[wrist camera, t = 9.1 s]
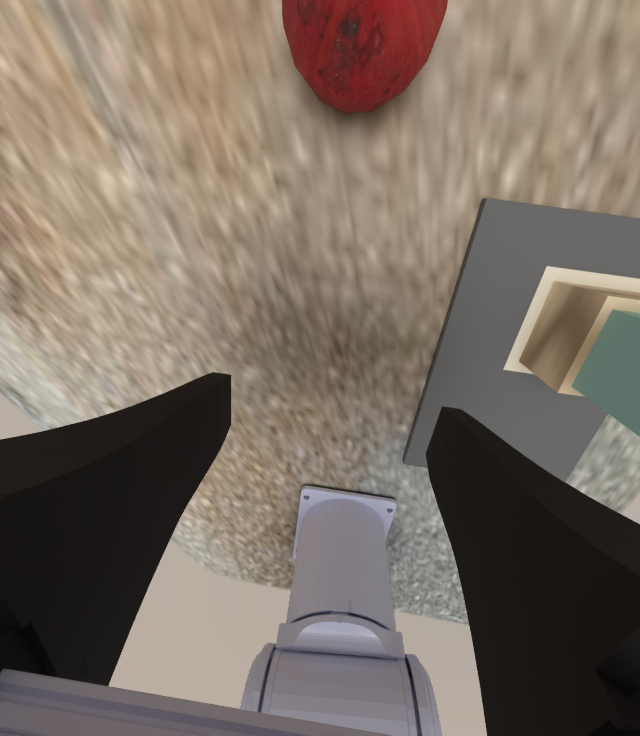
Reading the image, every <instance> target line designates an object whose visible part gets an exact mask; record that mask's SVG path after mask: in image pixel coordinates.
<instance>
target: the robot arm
mask: <svg viewBox="0 0 640 736" xmlns="http://www.w3.org/2000/svg"><path fill="white" fill-rule="evenodd" d="M230 426H231V375H229V374H222V373H215V372H213V373H210V374H207V375H204V376H202V377H200V378H197V379H195V380H193V381H191V382H188V383H186V384H184V385H182V386H180V387H177V388H175V389H173V390H171V391H168V392H166V393H164V394H161V395H159V396H156V397H154V398H151V399H149V400H146V401H144V402H141V403H139V404H136V405H134V406H131V407H128V408H125V409H122V410H119V411H116V412H113V413H110V414H107V415H104V416H100V417H97V418H94V419H90V420H87V421H83V422H79V423H75V424H71V425H67V426H63V427H59V428H55V429H51V430H47V431H42V432H38V433H33V434H28V435H23V436H18V437H12V438H7V439H2V440H0V736H442V733H441V727H440V720H439V715H438V710H437V705H436V700H435V696H434V692H433V688H432V684H431V681H430V678H429V675H428V673H427V671H426V670H425V668H424V667H423V666H422V665H421V663H419V660H418V658H417V657H416V656H415V655H413V654H404V646H403V639H402V633H401V632H396V626H395V617H394V608H393V600H392V591H391V583H390V574H389V566H388V557H387V549H386V539H387V536H388V533H389V529H390V526H391V523H392V520H393V517H394V514H395V511H396V508H397V503H396V501H395V500H394V499H390V498H384V497H377V496H371V495H365V494H358V493H352V492H345V491H339V490H332V489H326V488H320V487H313V486H304V487H302V490H301V497H300V504H299V512H298V519H297V527H296V534H295V542H294V549H293V559H294V560H295V561H296V562H295V569H294V575H293V581H292V588H291V594H290V601H289V607H288V614H287V620H286V623H285V624H284V623H283V624H280V625H279V631H278V637H277V643H276V644H273V643H267V644H266V645H265V646H264V648H263V649H262V651H261V652H260V653H259V654H258V655H257V656H256V658H255V659H254V661H253V663H252V666H251V669H250V671H249V674H248V678H247V681H246V685H245V689H244V693H243V697H242V702H241V707H240V709H236V708H231V707H224V706H219V705H214V704H208V703H202V702H196V701H190V700H185V699H178V698H173V697H167V696H161V695H155V694H150V693H144V692H138V691H132V690H126V689H121V688H115V687H109V686H108V685H109V682H110V680H111V677H112V675H113V672H114V670H115V667H116V665H117V662H118V660H119V657H120V655H121V652H122V649H123V647H124V644H125V642H126V640H127V637H128V634H129V632H130V629H131V627H132V624H133V622H134V620H135V617H136V615H137V613H138V610H139V608H140V606H141V603H142V601H143V599H144V596H145V594H146V592H147V589H148V587H149V584H150V582H151V580H152V578H153V575H154V573H155V571H156V569H157V567H158V564H159V562H160V560H161V557H162V555H163V553H164V551H165V549H166V547H167V544H168V542H169V540H170V538H171V536H172V534H173V532H174V530H175V528H176V525H177V523H178V521H179V519H180V517H181V515H182V513H183V512H184V510H185V508H186V506H187V504H188V503H189V501H190V499H191V498H192V496H193V494H194V493H195V491H196V489H197V488H198V486H199V484H200V483H201V481H202V479H203V478H204V476H205V474H206V473H207V471H208V469H209V468H210V466H211V464H212V463H213V461H214V459H215V458H216V456H217V454H218V453H219V451H220V449H221V447H222V445H223V442H224V440H225V438H226V436H227V433H228V431H229V428H230ZM426 460H427V466H428V472H429V477H430V482H431V485H432V488H433V491H434V494H435V497H436V501H437V504H438V507H439V510H440V513H441V516H442V519H443V522H444V525H445V528H446V531H447V534H448V537H449V540H450V543H451V546H452V549H453V553H454V556H455V560H456V564H457V568H458V573H459V577H460V582H461V586H462V591H463V595H464V600H465V605H466V610H467V615H468V620H469V625H470V631H471V636H472V641H473V646H474V653H475V659H476V664H477V671H478V676H479V682H480V688H481V695H482V702H483V709H484V716H485V723H486V730H487V736H640V524H638V523H636V522H634V521H632V520H630V519H629V518H627V517H625V516H623V515H621V514H619V513H617V512H615V511H614V510H612V509H610V508H608V507H606V506H604V505H602V504H601V503H599V502H597V501H595V500H594V499H592V498H590V497H588V496H587V495H585V494H583V493H582V492H580V491H578V490H577V489H575V488H573V487H572V486H570V485H568V484H567V483H565V482H563V481H562V480H560V479H559V478H557V477H555V476H554V475H552V474H551V473H549V472H548V471H546V470H545V469H543V468H542V467H540V466H539V465H537V464H536V463H535V462H533V461H532V460H530V459H529V458H527V457H526V456H524V455H523V454H522V453H520V452H519V451H518V450H516V449H515V448H513V447H512V446H511V445H509V444H508V443H507V442H505V441H504V440H503V439H501V438H500V437H499V436H497V435H496V434H495V433H493V432H492V431H491V430H489V429H488V428H487V427H486V426H484V425H483V424H482V423H480V422H479V421H478V420H476V419H475V418H473V417H472V416H471V415H469V414H468V413H466V412H465V411H463V410H461V409H458V408H451V407H444V406H442V408H441V411H440V413H439V416H438V419H437V422H436V425H435V428H434V431H433V434H432V437H431V440H430V442H429V445H428V448H427V451H426ZM305 495H307V496H305ZM389 508H390V509H389Z"/></svg>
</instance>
